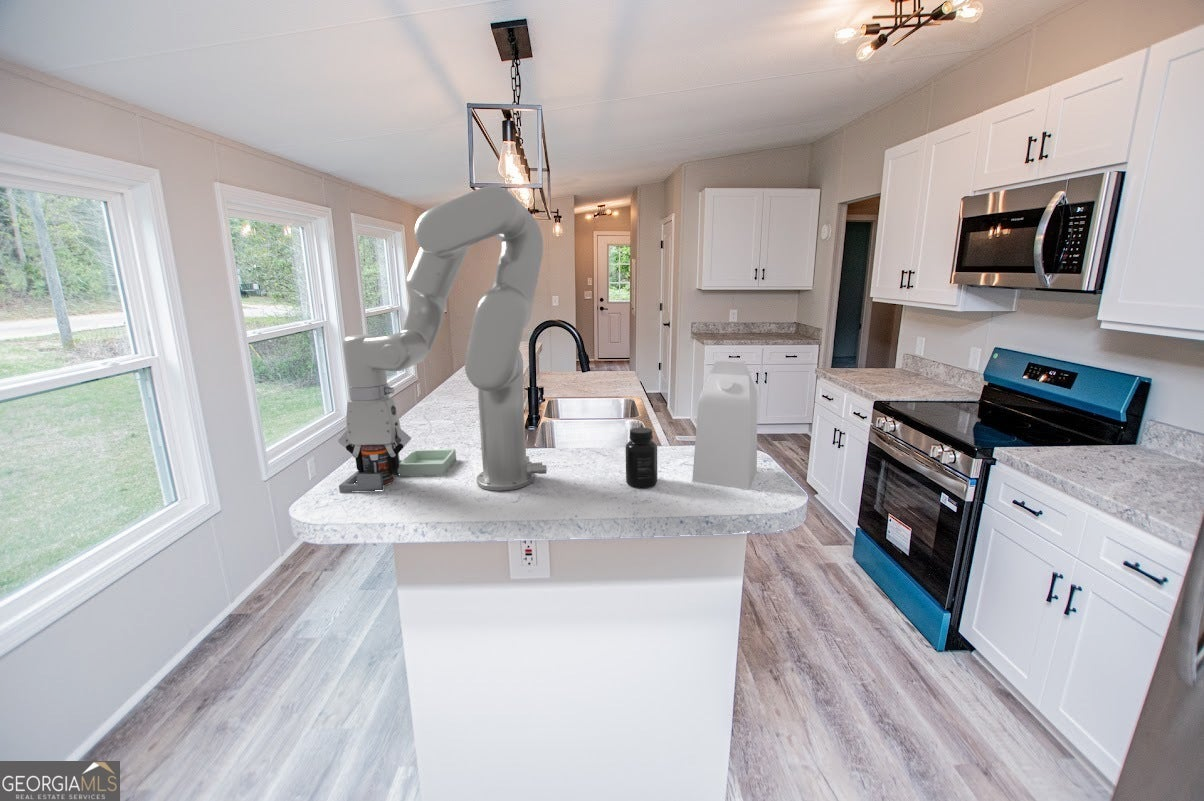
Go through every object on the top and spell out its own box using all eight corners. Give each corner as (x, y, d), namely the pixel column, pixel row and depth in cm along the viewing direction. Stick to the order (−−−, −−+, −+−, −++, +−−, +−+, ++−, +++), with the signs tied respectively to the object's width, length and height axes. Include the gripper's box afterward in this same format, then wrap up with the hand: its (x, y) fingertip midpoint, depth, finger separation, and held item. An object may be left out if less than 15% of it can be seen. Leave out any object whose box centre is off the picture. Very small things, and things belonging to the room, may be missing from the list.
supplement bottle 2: (661, 479, 111) (662, 427, 109) (651, 491, 105) (651, 436, 103) (632, 475, 114) (632, 424, 111) (620, 486, 108) (620, 432, 105)
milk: (756, 471, 115) (763, 358, 109) (748, 490, 105) (755, 366, 99) (704, 464, 120) (708, 356, 114) (692, 481, 110) (695, 363, 104)
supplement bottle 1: (383, 488, 109) (377, 438, 106) (359, 487, 110) (352, 437, 107) (399, 478, 115) (394, 430, 112) (376, 477, 116) (370, 429, 113)
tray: (456, 460, 126) (455, 449, 125) (444, 475, 116) (443, 463, 115) (415, 460, 126) (414, 450, 125) (399, 475, 116) (398, 464, 115)
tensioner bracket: (399, 474, 117) (398, 457, 116) (382, 491, 107) (379, 473, 106) (361, 474, 117) (359, 458, 116) (339, 492, 107) (337, 474, 106)
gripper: (415, 388, 111) (423, 465, 115) (337, 390, 111) (348, 467, 115) (402, 396, 104) (411, 478, 108) (319, 397, 104) (331, 479, 108)
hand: (378, 471), depth 112 cm, fingers closed on supplement bottle 1, 6 cm apart
